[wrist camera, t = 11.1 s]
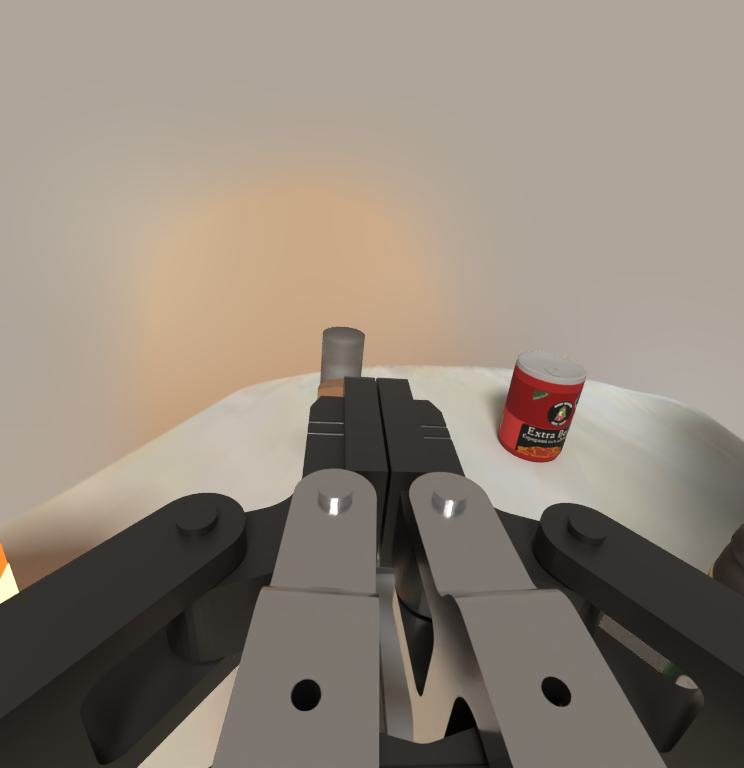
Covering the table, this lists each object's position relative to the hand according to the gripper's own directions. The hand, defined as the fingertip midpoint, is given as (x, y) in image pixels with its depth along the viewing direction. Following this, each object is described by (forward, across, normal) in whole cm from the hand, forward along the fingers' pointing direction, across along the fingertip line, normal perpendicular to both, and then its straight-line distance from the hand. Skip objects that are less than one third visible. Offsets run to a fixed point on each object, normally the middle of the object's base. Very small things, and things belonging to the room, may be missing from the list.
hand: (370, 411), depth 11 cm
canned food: (+36, -24, +26) cm, 51 cm away
